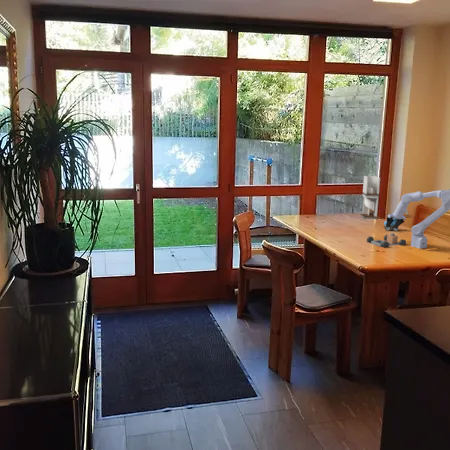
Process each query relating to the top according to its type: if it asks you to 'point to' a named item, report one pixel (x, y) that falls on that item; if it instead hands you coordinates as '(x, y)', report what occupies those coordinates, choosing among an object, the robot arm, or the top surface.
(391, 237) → the block
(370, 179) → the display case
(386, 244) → the chassis
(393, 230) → the toy excavator
